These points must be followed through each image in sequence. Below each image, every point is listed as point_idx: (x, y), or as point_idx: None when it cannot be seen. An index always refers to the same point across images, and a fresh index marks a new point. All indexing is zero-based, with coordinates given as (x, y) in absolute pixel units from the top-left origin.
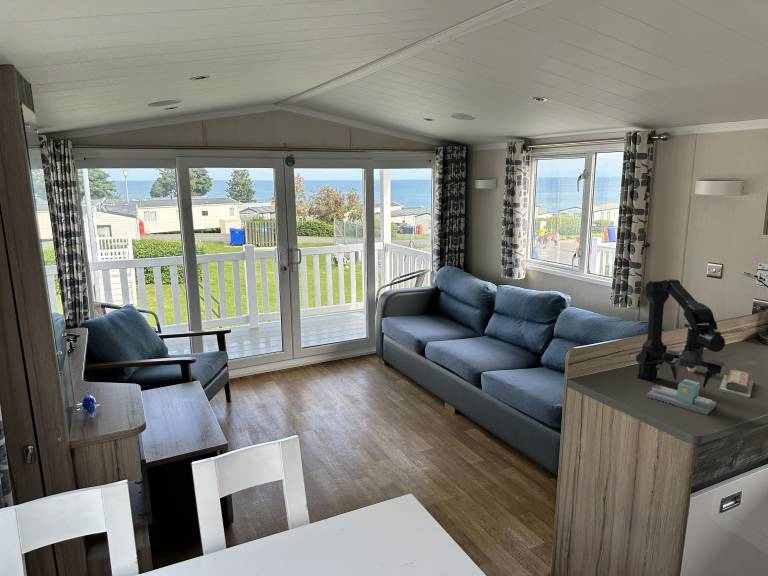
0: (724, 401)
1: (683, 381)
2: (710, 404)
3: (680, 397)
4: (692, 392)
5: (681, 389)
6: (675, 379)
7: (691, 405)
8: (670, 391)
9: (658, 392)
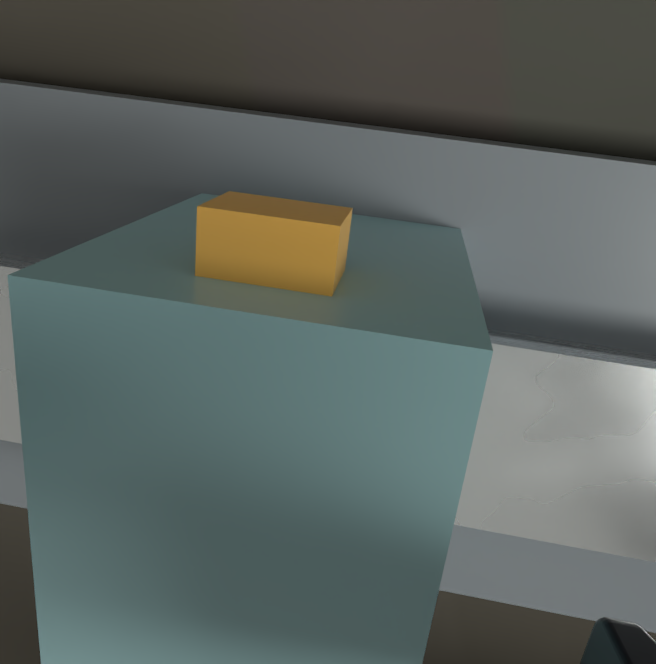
0: (2, 644)
1: (389, 662)
2: None
3: (389, 233)
4: (102, 243)
5: (379, 287)
6: (629, 642)
7: (188, 135)
8: (607, 409)
9: None
